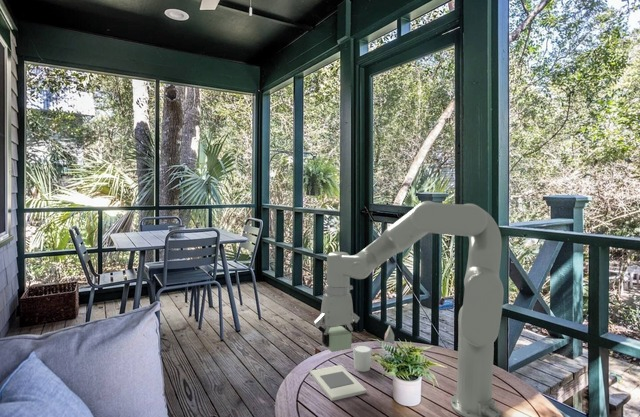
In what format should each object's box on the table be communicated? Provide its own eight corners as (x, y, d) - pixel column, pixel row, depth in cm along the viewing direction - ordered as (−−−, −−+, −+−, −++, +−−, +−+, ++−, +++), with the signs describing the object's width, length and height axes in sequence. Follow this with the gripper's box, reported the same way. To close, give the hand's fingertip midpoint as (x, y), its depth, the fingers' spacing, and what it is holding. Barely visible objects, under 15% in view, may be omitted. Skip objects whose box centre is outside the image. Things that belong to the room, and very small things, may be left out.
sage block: (351, 348, 121) (351, 333, 120) (331, 352, 118) (332, 336, 118) (341, 340, 127) (341, 325, 127) (322, 343, 124) (322, 328, 124)
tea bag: (393, 349, 149) (394, 324, 149) (393, 356, 143) (394, 331, 142) (384, 348, 150) (385, 324, 149) (383, 355, 143) (384, 330, 143)
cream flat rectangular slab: (366, 392, 117) (366, 389, 117) (331, 401, 112) (331, 397, 112) (340, 367, 134) (340, 364, 134) (309, 373, 129) (309, 370, 129)
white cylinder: (371, 363, 137) (371, 345, 136) (372, 373, 130) (372, 353, 130) (352, 362, 137) (352, 344, 137) (352, 371, 131) (352, 352, 130)
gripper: (355, 285, 128) (354, 335, 129) (308, 289, 121) (307, 343, 122) (367, 290, 121) (365, 344, 122) (317, 295, 115) (316, 352, 116)
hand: (336, 343), depth 122 cm, fingers closed on sage block, 7 cm apart
